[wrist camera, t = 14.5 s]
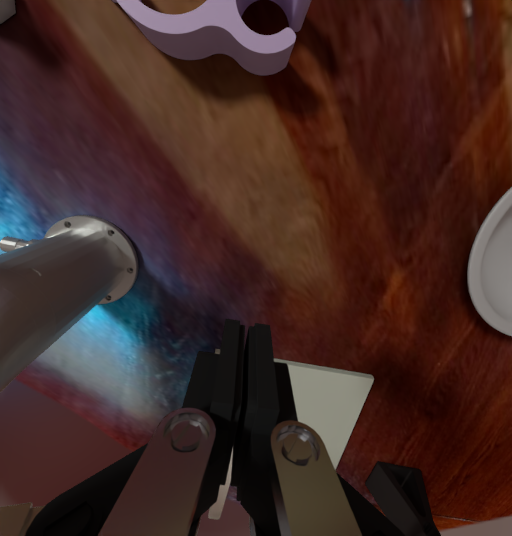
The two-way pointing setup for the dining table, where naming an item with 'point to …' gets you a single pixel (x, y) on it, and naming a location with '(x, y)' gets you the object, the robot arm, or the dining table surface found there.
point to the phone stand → (402, 498)
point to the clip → (220, 33)
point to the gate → (221, 496)
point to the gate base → (328, 401)
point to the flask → (6, 9)
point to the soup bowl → (493, 267)
